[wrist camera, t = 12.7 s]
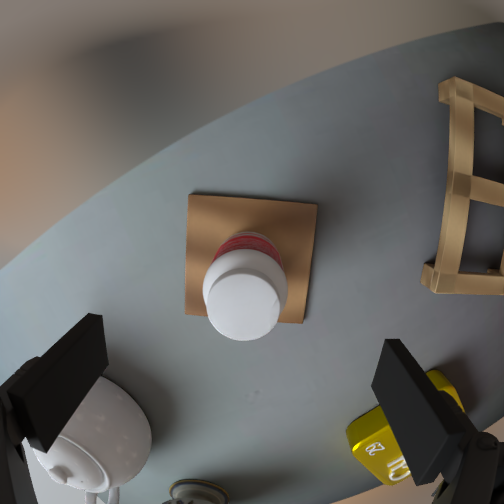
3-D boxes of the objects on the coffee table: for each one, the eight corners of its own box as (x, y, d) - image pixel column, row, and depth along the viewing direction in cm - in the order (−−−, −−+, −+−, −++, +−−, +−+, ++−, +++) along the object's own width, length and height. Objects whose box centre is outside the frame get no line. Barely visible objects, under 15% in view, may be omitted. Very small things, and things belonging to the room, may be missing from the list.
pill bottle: (207, 241, 30) (180, 276, 20) (269, 222, 30) (277, 248, 19) (227, 300, 32) (214, 360, 21) (288, 283, 31) (302, 337, 20)
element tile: (461, 417, 36) (475, 436, 32) (381, 470, 39) (389, 491, 34) (436, 362, 34) (454, 382, 29) (339, 427, 36) (347, 453, 31)
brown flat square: (189, 194, 30) (188, 194, 29) (316, 204, 30) (317, 204, 29) (185, 312, 33) (184, 314, 32) (302, 321, 33) (302, 323, 32)
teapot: (33, 404, 37) (-10, 457, 24) (66, 333, 34) (2, 393, 20) (129, 472, 40) (105, 535, 26) (187, 421, 36) (165, 505, 23)
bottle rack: (437, 83, 27) (454, 76, 23) (514, 114, 27) (531, 111, 23) (419, 282, 32) (434, 293, 28) (496, 286, 32) (512, 295, 28)
